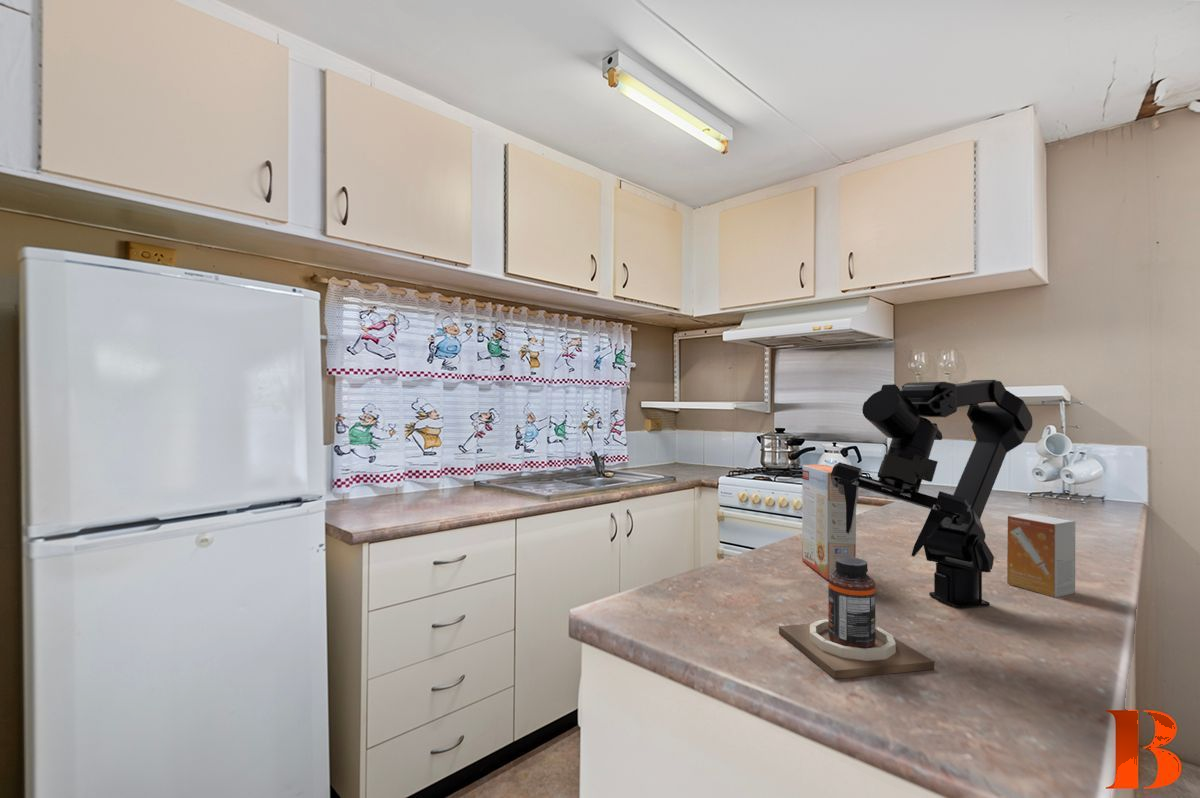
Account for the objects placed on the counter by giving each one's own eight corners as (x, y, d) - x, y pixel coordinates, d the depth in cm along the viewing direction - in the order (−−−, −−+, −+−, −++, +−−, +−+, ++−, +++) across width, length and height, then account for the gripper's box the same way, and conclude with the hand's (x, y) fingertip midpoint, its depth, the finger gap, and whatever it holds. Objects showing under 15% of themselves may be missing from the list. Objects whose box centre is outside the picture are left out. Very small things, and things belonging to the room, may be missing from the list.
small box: (1006, 584, 106) (1006, 515, 106) (1027, 580, 108) (1027, 512, 108) (1055, 598, 98) (1055, 523, 98) (1076, 593, 101) (1076, 520, 101)
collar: (861, 624, 84) (861, 616, 84) (912, 656, 73) (912, 647, 73) (795, 629, 82) (795, 621, 82) (839, 663, 71) (838, 653, 71)
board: (864, 626, 86) (864, 619, 86) (934, 669, 72) (934, 661, 72) (778, 632, 83) (778, 626, 83) (834, 678, 69) (834, 670, 69)
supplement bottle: (826, 630, 81) (826, 552, 81) (872, 636, 79) (872, 556, 79) (829, 648, 76) (829, 563, 76) (878, 654, 74) (878, 568, 74)
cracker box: (858, 581, 107) (857, 471, 107) (826, 581, 107) (826, 471, 107) (829, 560, 121) (829, 463, 121) (801, 560, 121) (800, 463, 121)
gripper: (844, 416, 88) (811, 508, 84) (985, 451, 78) (955, 557, 74) (848, 443, 97) (818, 526, 93) (974, 477, 87) (947, 572, 83)
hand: (879, 544), depth 85 cm, fingers open, 9 cm apart
